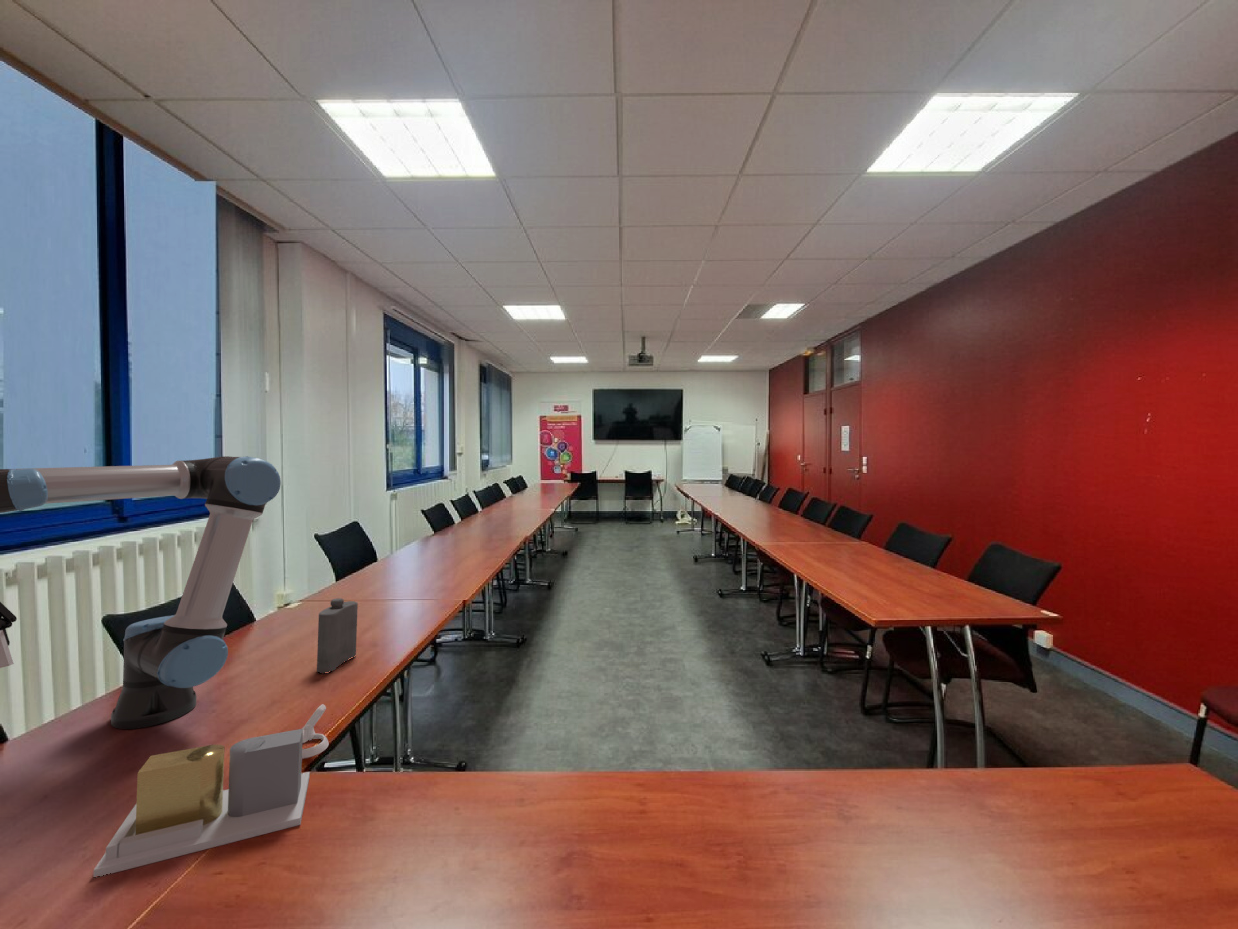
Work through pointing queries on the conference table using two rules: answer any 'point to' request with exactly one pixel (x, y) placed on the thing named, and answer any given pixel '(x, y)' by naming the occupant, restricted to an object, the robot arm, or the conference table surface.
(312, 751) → the hook
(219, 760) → the block
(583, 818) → the conference table surface
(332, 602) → the flask
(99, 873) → the hinge base
